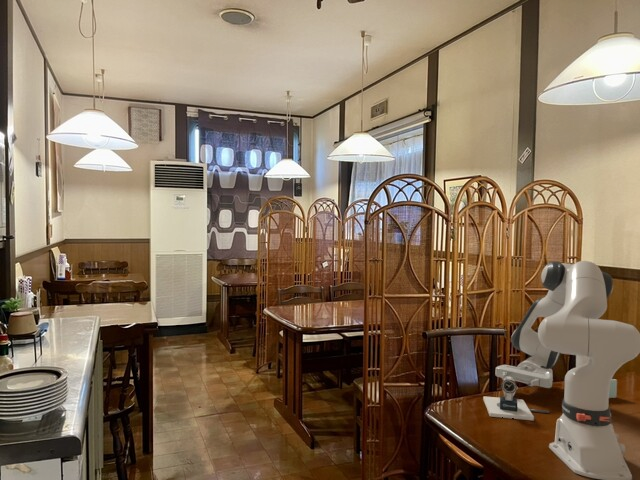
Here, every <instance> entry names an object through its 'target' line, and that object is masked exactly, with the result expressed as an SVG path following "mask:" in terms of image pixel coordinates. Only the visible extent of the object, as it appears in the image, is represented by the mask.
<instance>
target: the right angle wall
mask: <svg viewBox="0 0 640 480" xmlns="http://www.w3.org/2000/svg"><path fill="white" fill-rule="evenodd" d="M617 387H618V380H617V379H615V378H614V379H613V378H612V380H611V384H610V390H609V399H612V398H613V399H615V398H617V396H618V395H617V391H618V389H617Z"/></svg>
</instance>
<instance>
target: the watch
mask: <svg viewBox="0 0 640 480" xmlns="http://www.w3.org/2000/svg"><path fill="white" fill-rule="evenodd" d="M518 389H519V387H518V386H517V383H516V381H514V379H513V377H507V376H506V377H505V378H504V380H502V382H501V390H502V392H503V395H504V396H500V397H499V398H500V409H502V410H509V411H516V412H517V399H518V398H515V397H514V396H515V394H516V391H517V390H518Z"/></svg>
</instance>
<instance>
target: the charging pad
mask: <svg viewBox="0 0 640 480" xmlns="http://www.w3.org/2000/svg"><path fill="white" fill-rule="evenodd" d="M516 399H517V412H516V411H509V410H502V409H500V397H494V396H483V399H482V400H483V402H484V404H485V407H486V409H487V410H486V411H487V412H488V415H489V417H494V418H502V417H503V418H502V419H512V418H514V420H523V421H524V420H525V421H535V416H534V415H533V413H542V414H543V413H544V414H549V413H550V411H549V410H545V409H544V410H543V409H542V410H541V409H534V408H533V409H532V408H529V407H528V405H527V404H526V402H525V400H524V399H519V398H516ZM532 412H533V413H532Z"/></svg>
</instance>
